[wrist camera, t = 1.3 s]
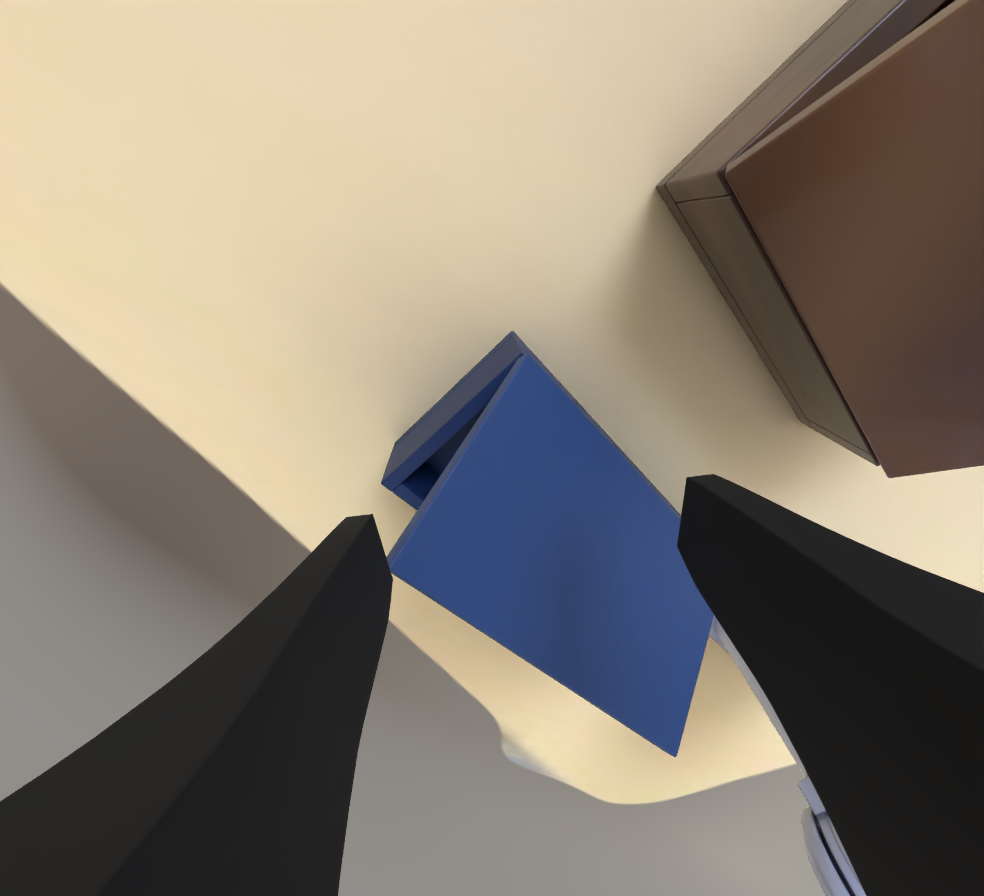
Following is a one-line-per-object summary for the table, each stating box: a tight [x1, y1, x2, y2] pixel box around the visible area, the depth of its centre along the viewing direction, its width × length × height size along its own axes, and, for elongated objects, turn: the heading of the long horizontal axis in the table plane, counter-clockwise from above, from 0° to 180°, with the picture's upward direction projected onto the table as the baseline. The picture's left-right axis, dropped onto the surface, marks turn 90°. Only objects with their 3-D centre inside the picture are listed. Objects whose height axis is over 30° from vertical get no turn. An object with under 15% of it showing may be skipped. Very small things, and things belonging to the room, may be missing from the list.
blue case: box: [381, 331, 681, 519], centre depth 20 cm, size 8×14×4 cm, turn 43°
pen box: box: [656, 0, 955, 466], centre depth 14 cm, size 10×14×4 cm
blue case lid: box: [386, 354, 714, 757], centre depth 15 cm, size 8×14×1 cm
